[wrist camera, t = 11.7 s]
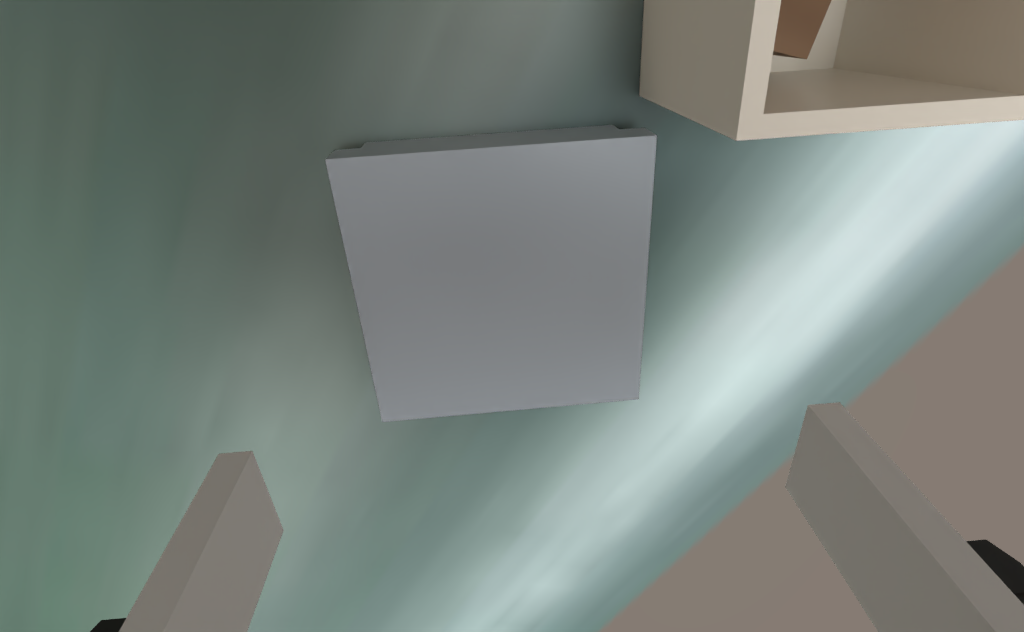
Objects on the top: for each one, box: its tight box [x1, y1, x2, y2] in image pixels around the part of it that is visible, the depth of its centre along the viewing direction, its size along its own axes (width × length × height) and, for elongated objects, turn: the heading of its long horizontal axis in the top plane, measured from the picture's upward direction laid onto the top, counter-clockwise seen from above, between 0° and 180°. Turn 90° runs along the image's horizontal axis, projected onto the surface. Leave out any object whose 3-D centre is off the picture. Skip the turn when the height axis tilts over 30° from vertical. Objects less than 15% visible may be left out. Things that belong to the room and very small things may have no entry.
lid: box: [325, 125, 657, 422], centre depth 24 cm, size 12×12×3 cm
